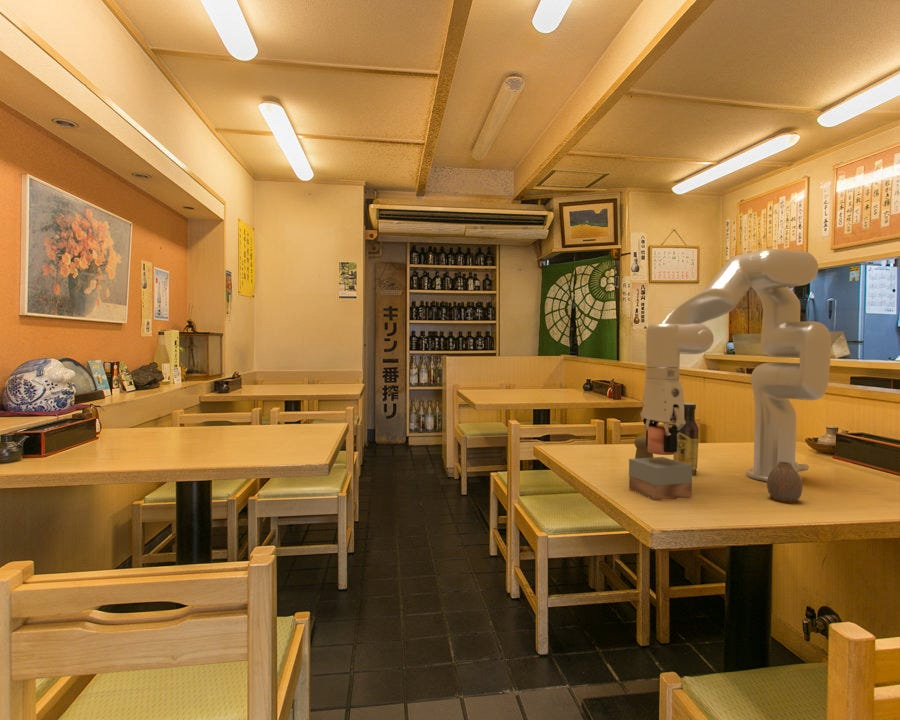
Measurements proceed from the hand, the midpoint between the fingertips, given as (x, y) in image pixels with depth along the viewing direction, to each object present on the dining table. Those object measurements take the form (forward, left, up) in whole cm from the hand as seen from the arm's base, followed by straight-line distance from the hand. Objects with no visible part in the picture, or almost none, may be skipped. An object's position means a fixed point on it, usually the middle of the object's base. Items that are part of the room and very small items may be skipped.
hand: (661, 448), depth 121 cm
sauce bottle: (-20, -16, -11) cm, 28 cm away
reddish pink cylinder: (0, 0, -1) cm, 1 cm away
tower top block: (0, 0, -7) cm, 7 cm away
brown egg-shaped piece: (-25, +11, -11) cm, 29 cm away
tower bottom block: (0, 0, -11) cm, 11 cm away
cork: (-6, -15, -11) cm, 20 cm away
